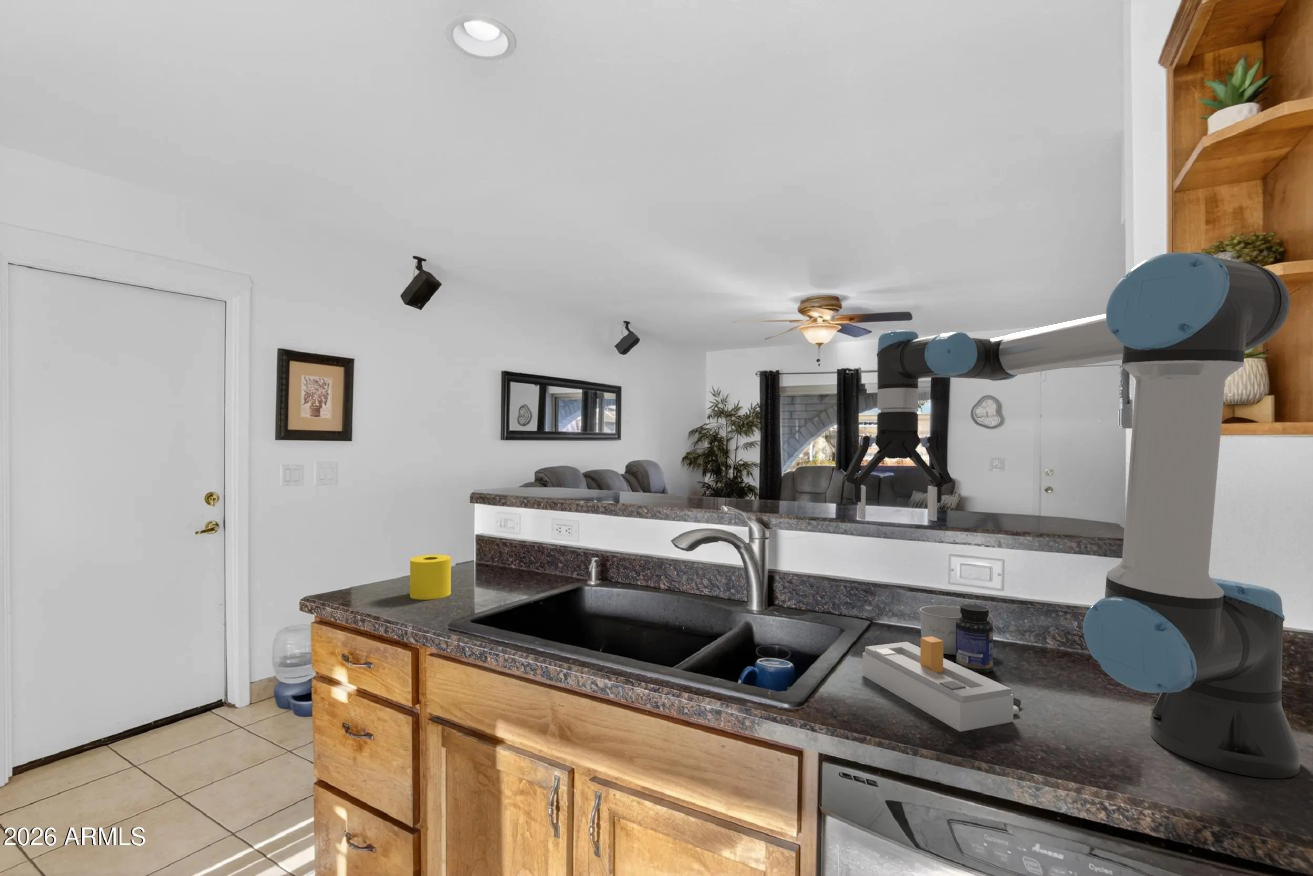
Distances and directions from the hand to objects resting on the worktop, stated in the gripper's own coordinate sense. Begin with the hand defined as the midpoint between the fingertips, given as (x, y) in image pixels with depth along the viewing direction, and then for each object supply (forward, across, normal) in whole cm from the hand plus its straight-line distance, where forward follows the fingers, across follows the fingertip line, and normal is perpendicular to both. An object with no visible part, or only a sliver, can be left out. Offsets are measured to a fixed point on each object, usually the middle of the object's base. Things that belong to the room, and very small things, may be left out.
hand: (896, 519), depth 123 cm
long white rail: (+26, -4, +19) cm, 33 cm away
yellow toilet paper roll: (+26, +108, -35) cm, 116 cm away
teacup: (+26, -12, -1) cm, 29 cm away
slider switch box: (+26, +1, +22) cm, 34 cm away
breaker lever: (+22, +1, +22) cm, 31 cm away
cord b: (+26, -7, +17) cm, 32 cm away
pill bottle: (+26, -12, +8) cm, 30 cm away
